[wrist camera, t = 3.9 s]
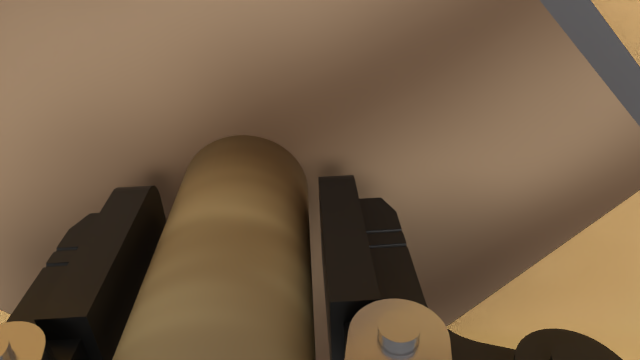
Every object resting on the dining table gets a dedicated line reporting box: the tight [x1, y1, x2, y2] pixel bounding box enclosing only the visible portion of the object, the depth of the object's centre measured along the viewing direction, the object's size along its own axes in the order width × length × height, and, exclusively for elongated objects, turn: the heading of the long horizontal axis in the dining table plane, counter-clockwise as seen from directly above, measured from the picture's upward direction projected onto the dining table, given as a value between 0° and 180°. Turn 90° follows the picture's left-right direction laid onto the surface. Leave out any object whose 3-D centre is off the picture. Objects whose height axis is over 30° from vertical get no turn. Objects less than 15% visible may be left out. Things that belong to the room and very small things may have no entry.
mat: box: [540, 0, 640, 126], centre depth 12 cm, size 16×16×1 cm
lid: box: [0, 0, 640, 360], centre depth 9 cm, size 14×14×7 cm
